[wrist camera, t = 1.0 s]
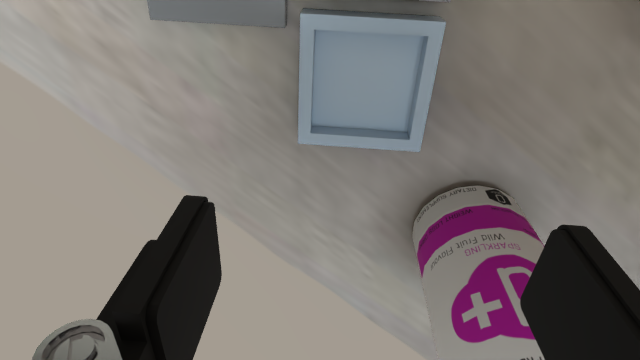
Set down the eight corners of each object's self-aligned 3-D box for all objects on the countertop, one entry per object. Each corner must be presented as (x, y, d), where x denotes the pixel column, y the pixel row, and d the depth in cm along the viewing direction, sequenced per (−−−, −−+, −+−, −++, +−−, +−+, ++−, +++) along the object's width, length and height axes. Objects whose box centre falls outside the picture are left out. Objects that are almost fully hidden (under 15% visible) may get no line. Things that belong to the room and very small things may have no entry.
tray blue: (439, 16, 23) (446, 22, 22) (415, 139, 27) (419, 151, 26) (303, 8, 23) (300, 13, 22) (300, 132, 28) (297, 143, 26)
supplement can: (407, 187, 29) (453, 379, 17) (524, 174, 28) (670, 370, 15) (413, 267, 34) (453, 470, 21) (515, 258, 32) (624, 468, 20)
